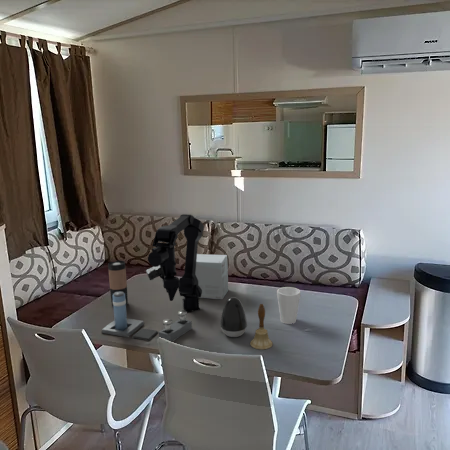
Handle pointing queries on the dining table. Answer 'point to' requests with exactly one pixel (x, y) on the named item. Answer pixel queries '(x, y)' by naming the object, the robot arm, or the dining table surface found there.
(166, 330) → the plunger
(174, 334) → the bar
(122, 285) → the travel mug
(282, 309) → the foam cup
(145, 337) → the mat
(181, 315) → the plunger
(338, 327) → the dining table surface
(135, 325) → the socket plate
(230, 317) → the dark egg shaped device
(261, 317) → the hand bell
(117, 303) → the cartridge
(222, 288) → the supplement box
